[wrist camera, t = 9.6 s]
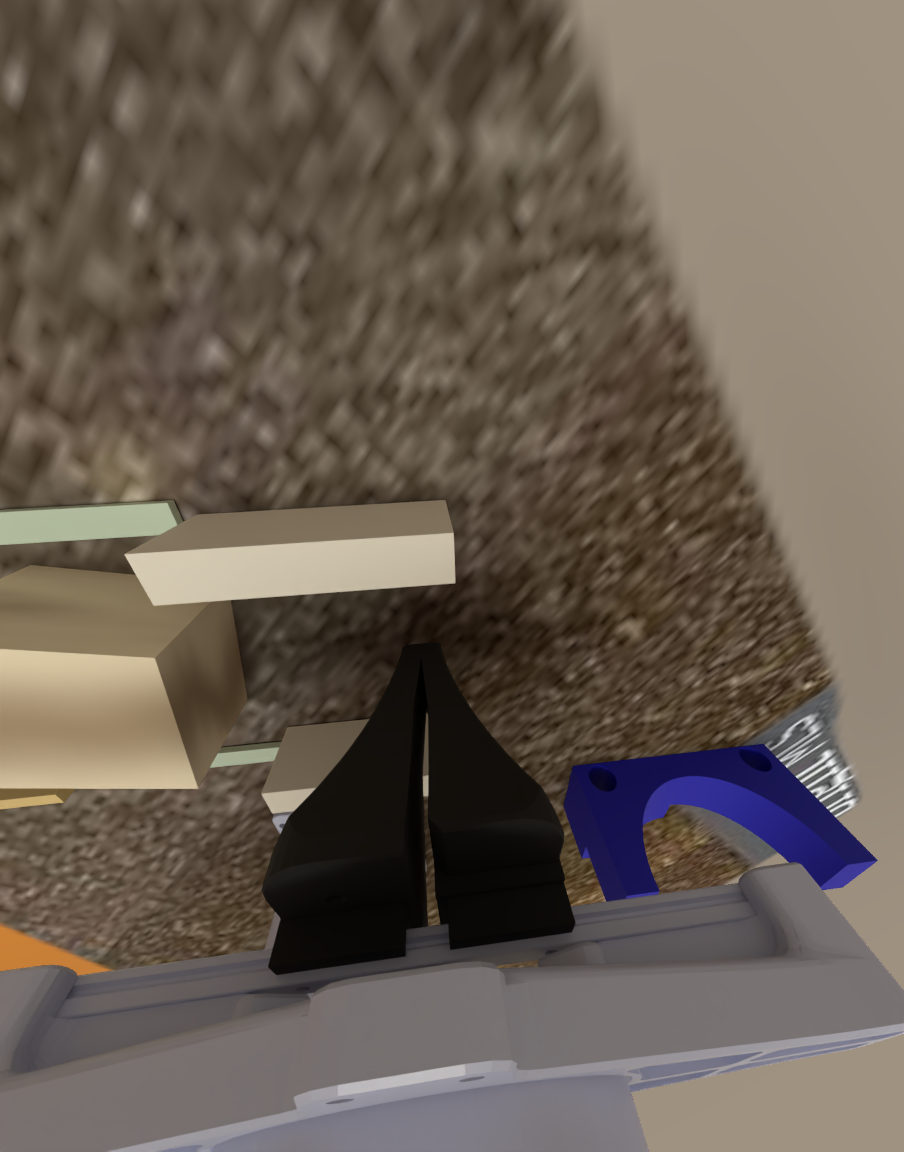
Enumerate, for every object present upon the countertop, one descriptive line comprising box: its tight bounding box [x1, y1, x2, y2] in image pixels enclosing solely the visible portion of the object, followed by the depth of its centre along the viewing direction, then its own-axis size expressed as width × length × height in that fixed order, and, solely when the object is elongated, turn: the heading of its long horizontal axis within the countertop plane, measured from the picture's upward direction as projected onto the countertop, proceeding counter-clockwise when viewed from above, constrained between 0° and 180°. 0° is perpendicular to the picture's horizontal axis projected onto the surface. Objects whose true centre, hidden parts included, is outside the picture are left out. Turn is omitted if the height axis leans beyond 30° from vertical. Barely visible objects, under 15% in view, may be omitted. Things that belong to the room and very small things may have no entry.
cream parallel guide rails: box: [124, 500, 455, 814], centre depth 12 cm, size 12×8×3 cm, turn 2°
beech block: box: [0, 565, 248, 789], centre depth 11 cm, size 6×6×4 cm
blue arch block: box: [564, 744, 877, 902], centre depth 19 cm, size 12×4×6 cm, turn 92°
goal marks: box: [0, 500, 281, 768], centre depth 13 cm, size 13×7×1 cm, turn 2°
